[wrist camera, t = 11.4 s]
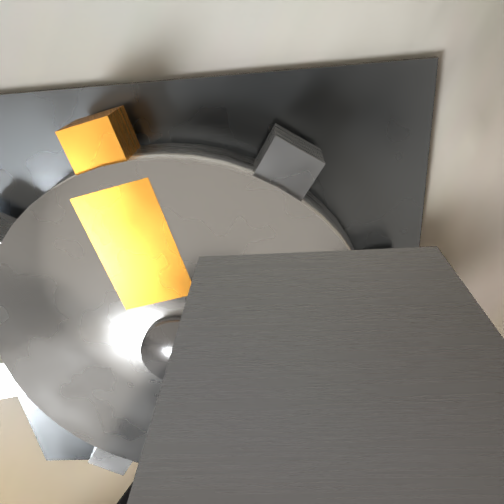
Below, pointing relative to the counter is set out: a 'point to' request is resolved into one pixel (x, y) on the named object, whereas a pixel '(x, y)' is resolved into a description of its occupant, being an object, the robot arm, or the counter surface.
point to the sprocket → (136, 266)
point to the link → (328, 385)
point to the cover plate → (248, 148)
